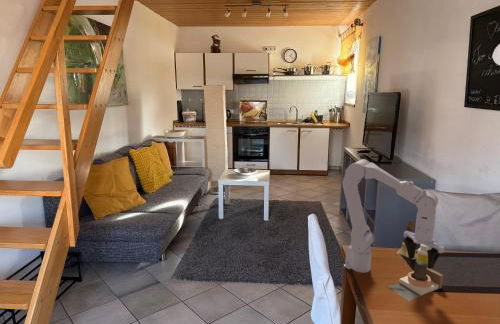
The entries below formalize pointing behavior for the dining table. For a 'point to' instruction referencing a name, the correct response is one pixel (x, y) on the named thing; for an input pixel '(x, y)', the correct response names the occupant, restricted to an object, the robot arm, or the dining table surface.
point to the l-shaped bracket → (434, 277)
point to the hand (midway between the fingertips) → (420, 262)
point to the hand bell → (403, 249)
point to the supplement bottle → (423, 254)
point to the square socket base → (418, 284)
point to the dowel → (420, 271)
